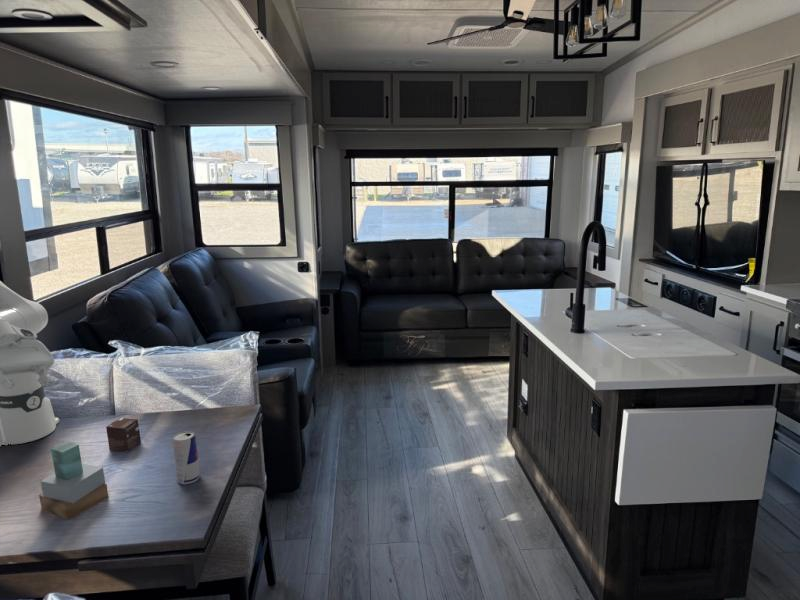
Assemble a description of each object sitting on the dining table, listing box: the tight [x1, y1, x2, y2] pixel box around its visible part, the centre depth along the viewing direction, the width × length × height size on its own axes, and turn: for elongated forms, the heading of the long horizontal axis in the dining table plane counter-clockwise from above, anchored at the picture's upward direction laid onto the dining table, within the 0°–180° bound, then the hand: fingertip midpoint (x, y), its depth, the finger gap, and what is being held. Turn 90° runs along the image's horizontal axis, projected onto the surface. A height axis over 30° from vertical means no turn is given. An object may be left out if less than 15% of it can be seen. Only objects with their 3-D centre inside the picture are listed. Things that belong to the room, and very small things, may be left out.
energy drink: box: [172, 430, 201, 485], centre depth 141 cm, size 5×5×12 cm
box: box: [105, 417, 142, 453], centre depth 159 cm, size 6×6×7 cm
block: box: [50, 440, 83, 480], centre depth 131 cm, size 4×4×7 cm
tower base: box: [38, 482, 109, 521], centre depth 133 cm, size 10×10×4 cm
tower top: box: [40, 462, 106, 503], centre depth 132 cm, size 9×9×4 cm
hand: (29, 385), depth 131 cm, fingers open, 8 cm apart
